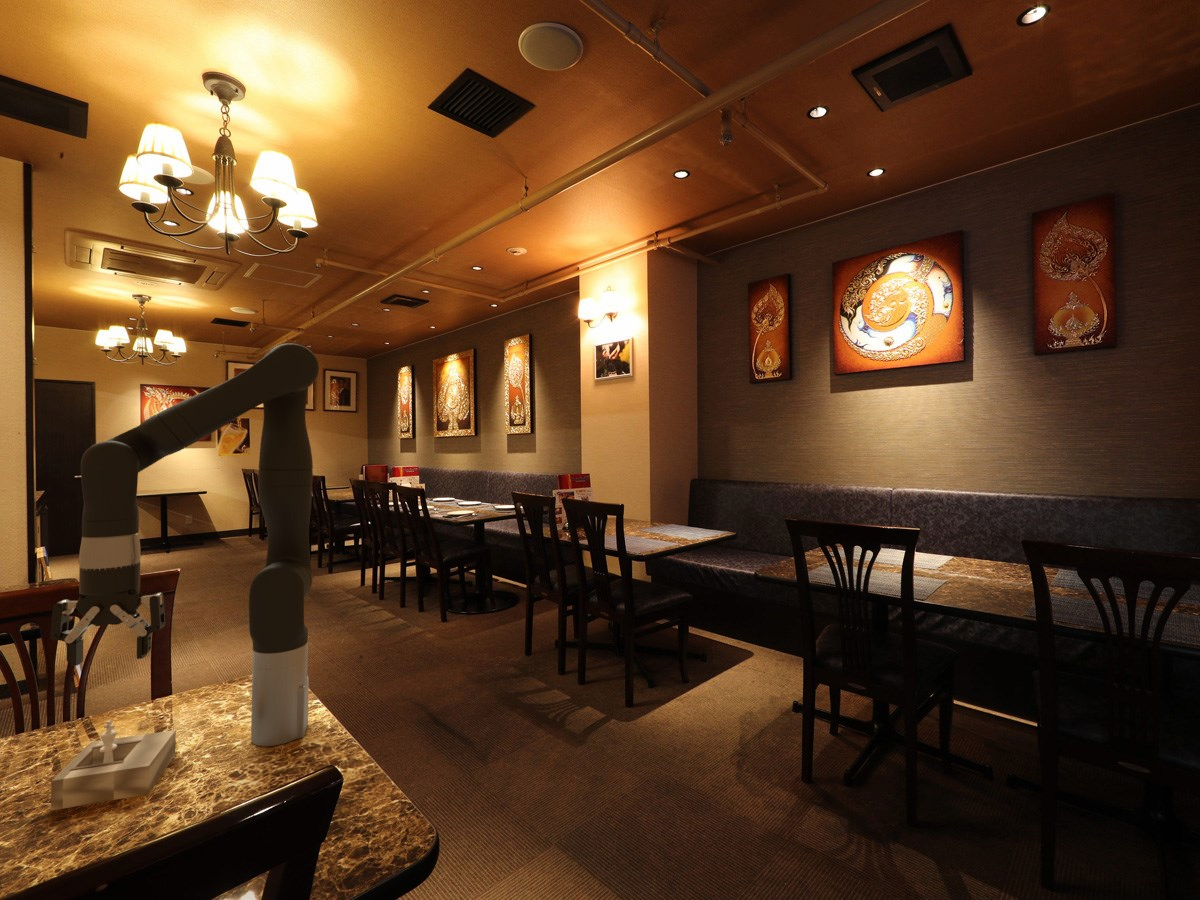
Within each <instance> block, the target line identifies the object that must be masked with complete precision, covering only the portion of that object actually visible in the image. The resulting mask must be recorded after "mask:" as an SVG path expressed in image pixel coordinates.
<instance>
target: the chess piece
mask: <svg viewBox="0 0 1200 900" xmlns="http://www.w3.org/2000/svg"><path fill="white" fill-rule="evenodd" d="M112 722H113V721H112V720H107V721H106V724H103V728H104V729H106V730H105V731H104V732H103V733H102V734H100V739H101V740H102V741H103V743H104V745H105V746H103V747H102V748H101V749H100V752H105V753H104V760H103V763H108V762H114V761H113V753H112V750H114V749H115V748H116V747H117V745H116V744H112V743H113V741H114V738H116V736H117V734H118V731H117V730H114V729H115V724H112Z"/></svg>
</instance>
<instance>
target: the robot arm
mask: <svg viewBox="0 0 1200 900" xmlns="http://www.w3.org/2000/svg"><path fill="white" fill-rule="evenodd" d="M319 369H320V366H319V361H318V359H317V356H316V355H315V354H314V353H313V352H312V350H310V349H309V348H307V347H306V346H303V345H300V344H297V343H282V344H279V345H276V346H274V347H273V348H271V349H270V350H269V351H268V352H266V354H265V355H264V356H263V357H262V358H260V360H257V362H256V363H254V364H253V365H252V366H249V368H246V370H244V371H242V372H240V373H239V374H237V375H235V376H233V377H231V378H230V379H228V380H225V381H223V382H222V383H220V384H217V385H215V386H214V387H211V388H209V389H207V390H205V391H202V392H200V393H197V394H195V395H193V396H190V397H188V398H186V399H184V400H182V401H180V402H177V403H176V404H173V405H172V406H170V407H168V408H166V409H164V410H161V411H160V412H158V413H156V414H153V415H151V416H150V417H149V418H147V419H146V420H144V421H143V422H142V423H140V424H139V425H138V426H135V427H133V428H131V429H129V430H127V431H124V432H122V433H120V434H118V435H116V436H114V437H112V438H110V439H107V440H104V441H100V442H98V443H95V444H92V445H91V446H90V447H88V448H87V449H86V450H85V452H83V454H82V457H81V458H80V459H81V461H80V479H81V480H80V481H81V490H82V499H83V509H82V517H81V543H80V548H79V558H78V565H79V575H78V576H79V577H78V578H79V579H78V581H79V582H78V583H79V584H78V590H79V592H78V593H79V598H78V600H70V599H66V598H65V599H62V600H60V601H58V602H56V603H54V604H53V605H52V609H51V610H52V611H51V622H50V623H51V624H50V633H49V634H50V635H49V639H50V640H51V641H54V642H55V641H61V642H64V643H65V645H66V663H69V664H70V666H71V667H77V666H79V665H81V664H82V663H83V661H84V639H83V638H81V637H83V635H84V634H85V633H86V632H87V631H88V629H90V628H91V627H92V626H95V627H102V626H105V625H111V626H112V625H113V626H115V625H121V624H123V623H124V624H125V626H126V627H128V628H130V629H132V630H133V631H134V632H135V633H136V634H137V635H138V636H137V637H136V659H137V660H140V659H144V658H145V657H146V656H147V654H149V653H150V652H151V650H152V635H153V633H155V632H158V631H160V629H162V628H163V627H165V625H166V613H165V612H166V611H165V610H166V609H165V596H164V593H163V592H161V591H160V592H157V593H155V594H149V595H142V592H141V541H140V533H139V532H140V529H139V528H140V518H139V517H140V516H139V515H140V514H139V505H138V502H137V495H138V482H139V481H138V480H139V473H141V472H142V471H144V470H145V469H147V468H149V467H150V466H152V465H154V464H155V463H157V462H158V461H159V462H160V461H161V460H162V459H164V458H165V457H168V456H170V455H172V454H175V453H178V452H180V451H182V450H184V449H185V448H187V447H190V446H191V445H193V444H195V443H197V442H200V441H201V440H202V439H204V438H205V437H206V438H207V437H208V436H209V435H212V434H213V433H214V432H216V431H218V430H219V429H221V428H222V427H225V426H226V425H228V424H229V423H230V422H232V421H234V420H235V419H238V418H239V417H241V416H242V415H243V414H246V413H247V412H249V411H251V410H252V409H254V408H257V407H259V406H260V405H263V422H262V430H261V437H260V444H259V446H260V447H259V457H258V459H259V460H258V479H257V480H258V481H257V482H258V483H257V486H258V489H257V490H258V499H259V505H260V509H261V512H262V515H263V519H264V523H265V526H266V532H267V549H266V550H267V551H266V561H265V567H264V568H263V569H261V570H260V571H259V572H258V573H257V574H256V575H255V576H254V578H253V579H252V581H251V583H250V586H249V591H248V629H249V636H250V638H251V640H252V664H251V665H252V667H251V668H252V669H251V670H252V672H251V673H252V674H251V675H252V676H251V718H250V719H251V720H250V721H251V722H250V723H251V724H250V725H251V727H250V740H251V743H252V744H253V745H255V746H258V747H274V746H279V745H285V744H286V743H289V742H292V741H294V740H297V739H301V738H304V737H305V734H306V732H307V728H308V724H309V691H310V685H309V684H310V683H309V681H310V679H309V678H310V677H309V676H308V655H309V654H308V651H309V650H308V649H309V647H308V645H309V643H308V641H309V629H308V627H307V626H306V625H305V598H306V596H307V595H308V594H309V592H310V591H311V588H312V583H313V574H312V573H313V572H312V561H311V552H310V550H311V549H310V539H309V537H310V536H309V535H310V531H309V530H310V521H311V511H312V498H313V497H312V495H313V494H312V493H313V476H314V475H313V474H314V473H313V472H314V471H313V469H314V467H313V466H314V464H313V463H314V462H313V455H312V448H311V447H312V446H311V443H310V438H309V434H308V429H307V423H306V409H307V408H306V407H307V400H308V399H307V397H308V390H309V387H311V386H312V385H313V384H314V383H315V381H316V380H317V377H318V375H319ZM142 604H144V605H145V607H146V608H147V609H149V613H150V623H149V622H148V621H147V620H146V619H145V616H144V615H143V614H142V613H141V611H139V610H138V609H139V607H140V606H141V605H142ZM75 609H76V611H78V613H80V614H81V615H82V618H81V619H80V620H79V621H78V622H77V623H76V624H75V626H73V629H72V630H69V626H70V625H69V623H70V615H71V614H72V613H73V612H74V610H75Z"/></svg>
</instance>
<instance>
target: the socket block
mask: <svg viewBox="0 0 1200 900" xmlns="http://www.w3.org/2000/svg"><path fill="white" fill-rule="evenodd" d="M176 736H177V730H176V729H173V730H172V729H171V730H168V731H167V730H165V731H159V732H151V733H145V734H138V735H129V736H123V737H117V738H116V737H115V738H114V741H113V743H112V744H116V745H117V747H116V748H115V749H114V750H112V753H113V761H114V762H108V763H103V760H104V753H105V752H100V749H101V748H102V747H103V746H105V745H104V743H103V741H102V739H101V740H95V741H90V742H89V743H88V744H87V745H86V746H85V747H84V748H83V749H82V750H81V751H80V752H79V753H78V754H77V755H76V756H75V757H74V758H73V759H72V760H71V761H70V762H69V763H68V764H67V765H66V766H65V767H63V769H62V770H60V771H59V773H57V775H56V776H55V777H54V778H53V779H52V780H51V782H50V783H51V784H50V785H51V786H50V811H56V810H62V809H69V808H75V807H81V806H87V805H91V804H99V803H103V802H109V801H115V800H116V801H117V800H121V799H127V798H132V797H134V798H135V797H140V796H145V795H149V794H150V792H151V791H152V790H153V788H154V786H156V784H157V782H159V780H160V778H161V776H162V775H163V774H164V772H165V771H166V769H167V768H168V766H169V765H170V764H171V762H172V761H173V759H174V758H175V757H176V744H177V743H176V741H177V740H176Z"/></svg>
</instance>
